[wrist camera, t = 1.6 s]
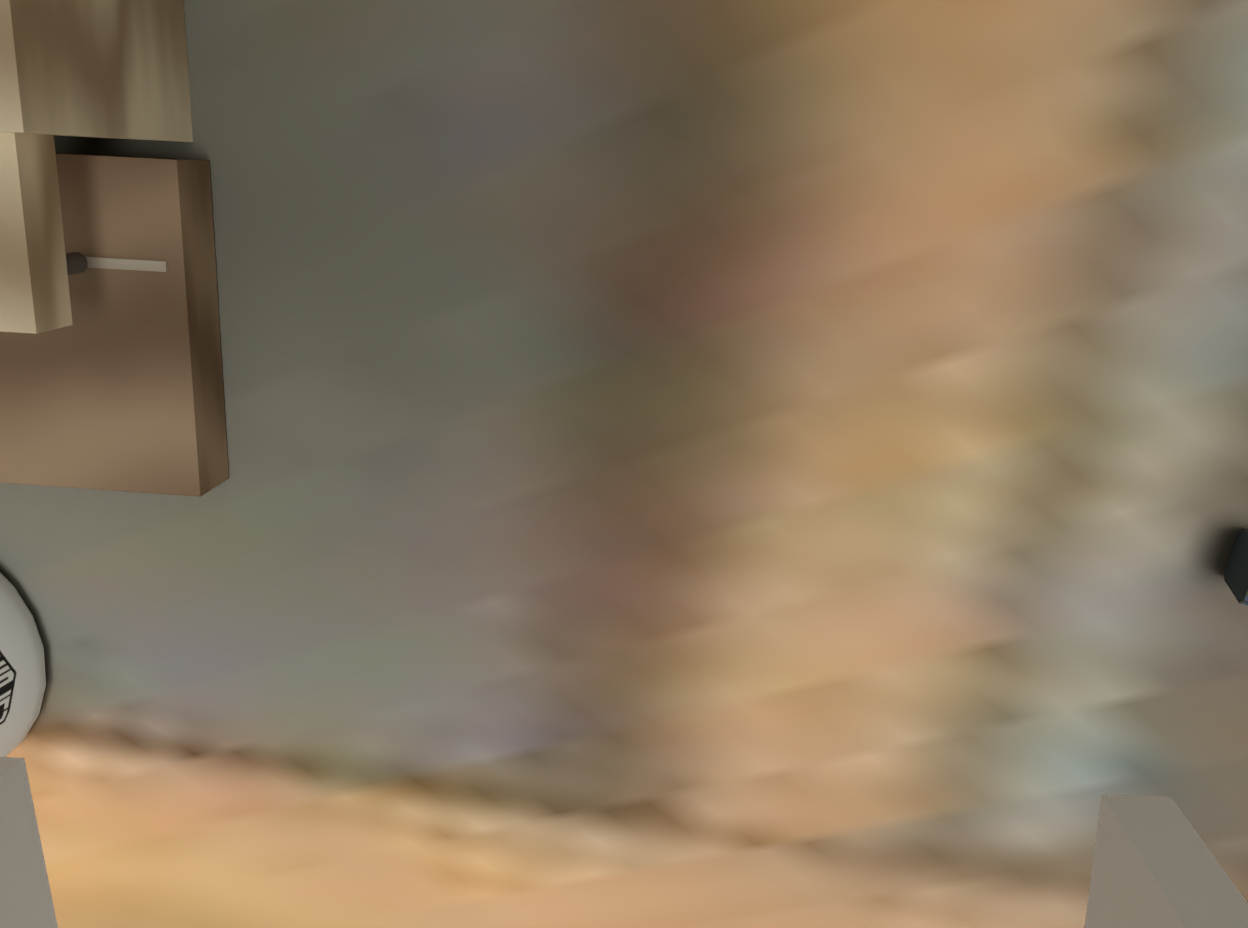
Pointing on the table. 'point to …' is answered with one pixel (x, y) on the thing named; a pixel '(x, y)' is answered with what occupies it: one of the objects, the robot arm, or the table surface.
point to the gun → (1239, 568)
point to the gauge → (74, 125)
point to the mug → (18, 668)
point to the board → (124, 340)
